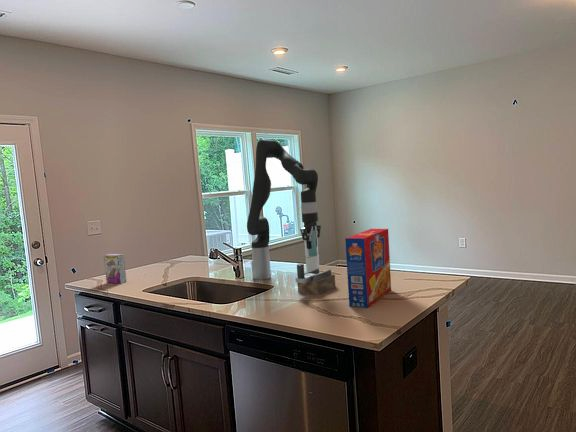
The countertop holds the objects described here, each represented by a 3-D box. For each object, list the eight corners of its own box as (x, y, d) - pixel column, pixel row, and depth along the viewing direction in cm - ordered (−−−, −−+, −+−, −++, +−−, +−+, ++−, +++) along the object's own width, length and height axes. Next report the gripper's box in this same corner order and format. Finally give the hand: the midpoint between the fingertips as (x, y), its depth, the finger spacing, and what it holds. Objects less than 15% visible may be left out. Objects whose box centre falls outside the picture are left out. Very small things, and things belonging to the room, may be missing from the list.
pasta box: (367, 308, 175) (364, 238, 173) (349, 306, 180) (345, 238, 177) (391, 290, 199) (388, 228, 197) (374, 289, 203) (371, 228, 201)
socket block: (298, 291, 208) (296, 274, 207) (314, 284, 219) (313, 268, 218) (319, 294, 201) (318, 276, 200) (335, 286, 212) (334, 269, 211)
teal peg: (306, 256, 209) (305, 231, 208) (311, 254, 212) (309, 230, 211) (313, 256, 207) (311, 231, 206) (318, 255, 210) (316, 230, 209)
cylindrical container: (319, 277, 234) (316, 230, 231) (305, 277, 235) (302, 231, 233) (320, 274, 240) (317, 228, 238) (307, 274, 242) (304, 229, 240)
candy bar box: (106, 283, 256) (103, 255, 254) (112, 281, 260) (109, 253, 259) (120, 284, 251) (117, 255, 250) (127, 282, 256) (124, 253, 254)
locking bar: (295, 282, 200) (293, 265, 200) (308, 277, 209) (307, 260, 208) (303, 283, 197) (302, 265, 197) (316, 278, 206) (315, 261, 205)
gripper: (311, 210, 216) (314, 245, 217) (293, 213, 205) (296, 250, 206) (324, 210, 211) (327, 245, 212) (306, 213, 200) (309, 250, 201)
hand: (312, 247), depth 209 cm, fingers closed on teal peg, 4 cm apart
